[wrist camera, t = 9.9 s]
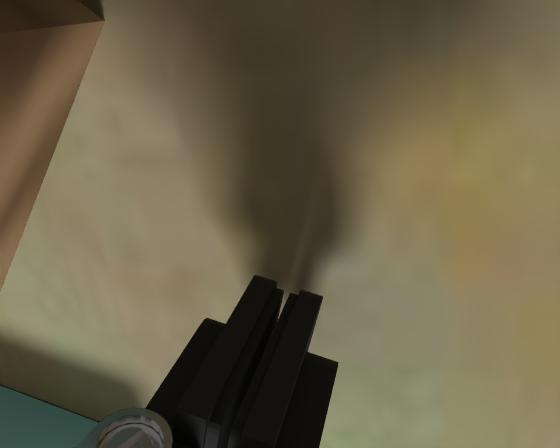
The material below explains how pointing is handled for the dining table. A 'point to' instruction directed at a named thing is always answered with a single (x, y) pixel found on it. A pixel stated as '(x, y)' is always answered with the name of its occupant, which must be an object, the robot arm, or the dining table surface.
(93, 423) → the teal corral
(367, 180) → the dining table surface
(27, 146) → the walnut T-block
